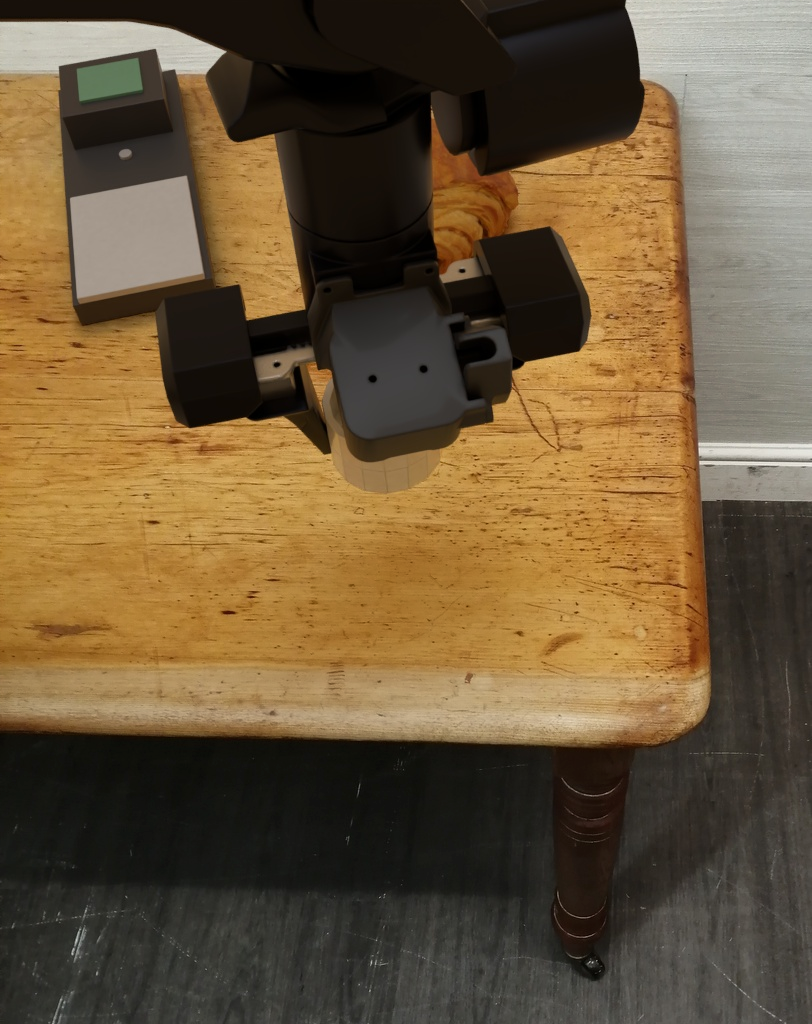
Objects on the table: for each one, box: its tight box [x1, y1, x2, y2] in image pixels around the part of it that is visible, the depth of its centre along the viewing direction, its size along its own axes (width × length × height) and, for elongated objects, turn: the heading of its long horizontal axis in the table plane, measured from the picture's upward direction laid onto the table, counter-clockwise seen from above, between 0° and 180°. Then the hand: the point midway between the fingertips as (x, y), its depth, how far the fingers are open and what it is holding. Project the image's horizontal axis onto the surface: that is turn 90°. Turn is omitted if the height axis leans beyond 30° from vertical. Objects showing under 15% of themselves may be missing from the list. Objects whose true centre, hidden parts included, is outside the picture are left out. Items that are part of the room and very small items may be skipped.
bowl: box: [321, 377, 444, 495], centre depth 50 cm, size 6×6×4 cm
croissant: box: [431, 117, 520, 275], centre depth 73 cm, size 14×16×8 cm
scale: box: [57, 48, 217, 326], centre depth 77 cm, size 10×26×5 cm, turn 13°
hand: (383, 436), depth 51 cm, fingers closed on bowl, 6 cm apart
